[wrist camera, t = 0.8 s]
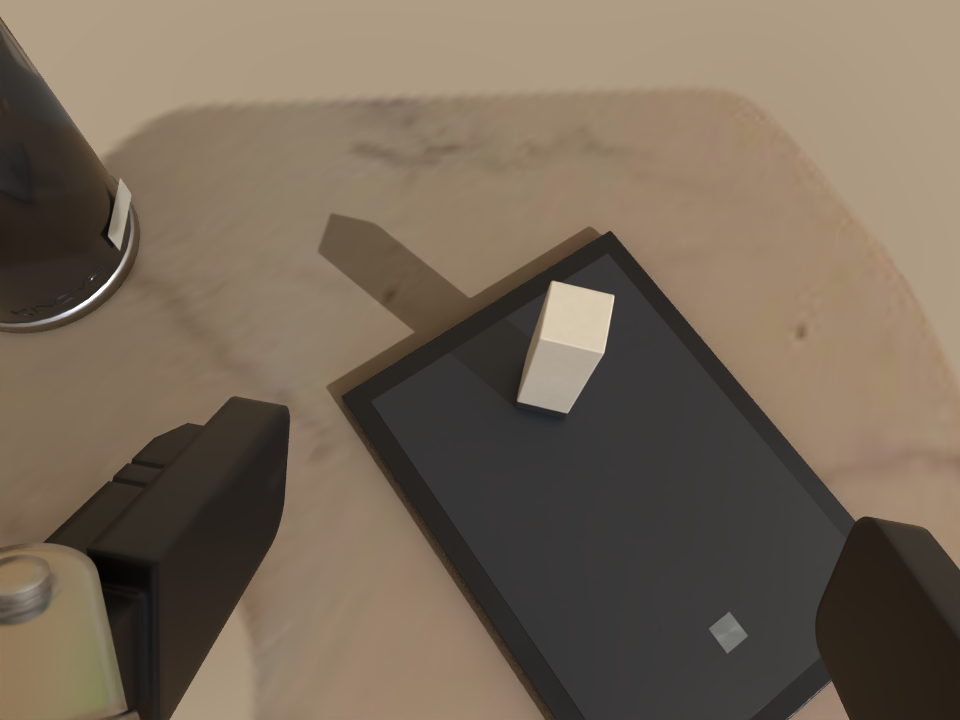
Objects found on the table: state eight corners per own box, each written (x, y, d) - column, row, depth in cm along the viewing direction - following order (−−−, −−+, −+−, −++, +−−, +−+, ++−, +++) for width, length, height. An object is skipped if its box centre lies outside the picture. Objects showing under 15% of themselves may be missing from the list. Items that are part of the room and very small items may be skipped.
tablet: (342, 401, 35) (340, 395, 34) (607, 237, 39) (611, 228, 38) (636, 846, 29) (643, 852, 28) (911, 601, 33) (924, 600, 32)
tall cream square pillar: (514, 407, 34) (538, 338, 26) (524, 360, 35) (551, 279, 27) (564, 419, 34) (604, 353, 26) (574, 371, 35) (615, 294, 27)
